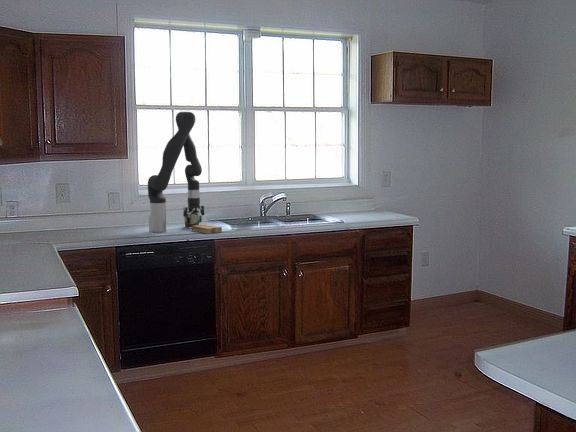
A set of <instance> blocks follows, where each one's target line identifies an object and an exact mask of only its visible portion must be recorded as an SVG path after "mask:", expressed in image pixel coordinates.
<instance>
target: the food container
mask: <svg viewBox="0 0 576 432" xmlns="http://www.w3.org/2000/svg"><path fill="white" fill-rule="evenodd" d="M188 211H189V210H188ZM188 211H187V212H188ZM183 213H184V211H183ZM200 215H201V214H200V210H199V212H197V213H192V215H191V216H190V217H189V218H190V224H187V222H186V217H184V216H183V218H184V221H183V222H184V228H188V227H192V226H194V225H200V223H199V217H200Z"/></svg>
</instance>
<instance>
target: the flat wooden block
mask: <svg viewBox="0 0 576 432" xmlns="http://www.w3.org/2000/svg"><path fill="white" fill-rule="evenodd" d="M192 230H194V231H193V232H196V231H199V232H198V233H201V232H202V233H201V234H207V235H209V234H210V235H211V234H217V233H218V234H219V233H222V232H223V231H222V226H218V225H212V224H207V223H205V224H204V223H203V224H199V225H194V226H192V228H191V231H192Z"/></svg>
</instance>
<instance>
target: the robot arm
mask: <svg viewBox="0 0 576 432" xmlns="http://www.w3.org/2000/svg"><path fill="white" fill-rule="evenodd" d="M175 123H176V126H177V129H178V130H177V131H176V133H175V134H174V135H173V136H172V137H171V138H170V140H169V141H168V142H167V143H166V145H165V147H164V150H163V152H162V164H161V168H160V169H159V171H158V172H159V173H158V174H153V175H151V176H150V177H148V180H147V196H148V199H149V215H148V232H150V233H166V232H167V198H166V197H165V196H164V194H163V192H164V191H166V189H167V188H168V185H169V182H170V179H171V177H172V173H173V170H174V169H175V165H176V164H177V161H178V160H179V157H180V155H181V152H182V150H184V151H183V152H184V156H185V157H184V158H185V161H186V162H188V163H190V164H187V165H185V168H184V174H185V178H186V182H187V207H186V206H184V207H183V212H184V213H183V215H182V216H183V218H184V217H186V222H187V224H190V218H189V217H190V216H191V215H192V213H197V212H199V211H200V214H201V215H200V217H199V224H200V223H202V217H203V216H204V215H205V206H204V205H200V204H201V193H200V192H201V191H200V181H199V180H197V179H195V177H199V176H201V174H202V171H203V167H202V165H201V163H200V161H199V158H198V155H197V148H196V145H195V143H194V141H193V139H192V137H191V134H190V133H191V131H192V129H193V127H194V125H195V124H196V116H195V114H194V113H193V112H192V111H180V112H177V114H176V115H175ZM187 211H188V212H187Z"/></svg>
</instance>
